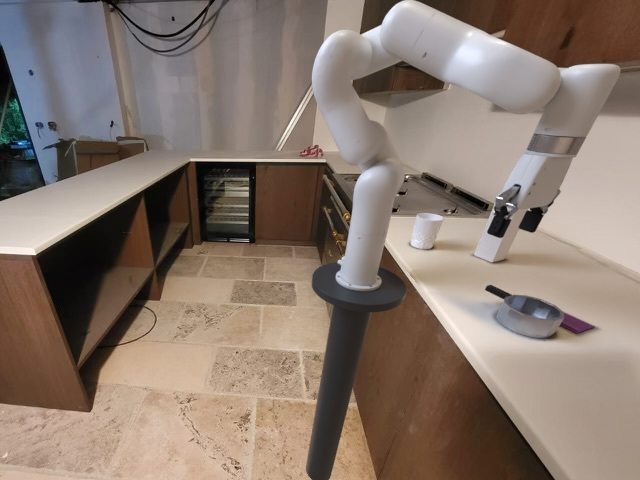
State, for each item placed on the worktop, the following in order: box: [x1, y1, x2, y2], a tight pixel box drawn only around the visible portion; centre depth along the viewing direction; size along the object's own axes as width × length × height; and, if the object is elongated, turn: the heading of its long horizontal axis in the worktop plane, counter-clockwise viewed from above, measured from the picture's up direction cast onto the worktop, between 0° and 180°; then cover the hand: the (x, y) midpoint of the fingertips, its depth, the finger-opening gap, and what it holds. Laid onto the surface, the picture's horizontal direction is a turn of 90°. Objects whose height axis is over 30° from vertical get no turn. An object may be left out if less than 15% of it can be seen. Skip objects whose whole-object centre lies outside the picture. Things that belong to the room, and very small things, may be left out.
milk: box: [473, 192, 530, 263], centre depth 95 cm, size 6×6×22 cm
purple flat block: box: [559, 312, 595, 334], centre depth 73 cm, size 12×6×1 cm, turn 20°
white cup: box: [410, 212, 445, 250], centre depth 106 cm, size 8×8×10 cm
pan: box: [484, 284, 565, 339], centre depth 72 cm, size 15×10×5 cm, turn 20°
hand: (510, 233), depth 69 cm, fingers open, 9 cm apart
